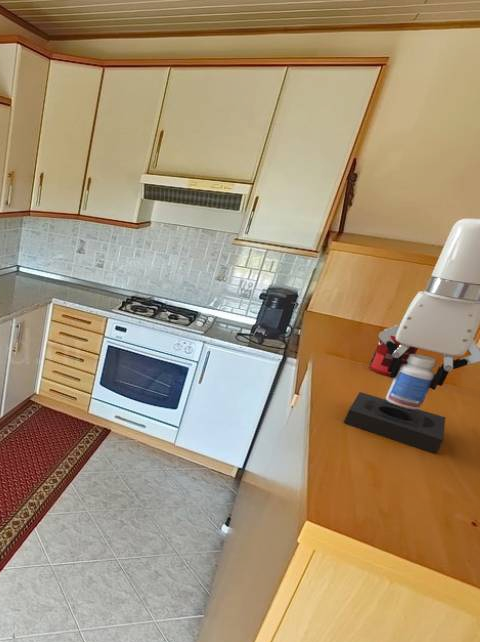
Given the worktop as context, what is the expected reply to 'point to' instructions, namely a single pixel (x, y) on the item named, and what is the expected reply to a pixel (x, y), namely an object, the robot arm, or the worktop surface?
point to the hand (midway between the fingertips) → (412, 381)
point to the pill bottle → (412, 382)
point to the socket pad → (397, 422)
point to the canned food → (387, 356)
